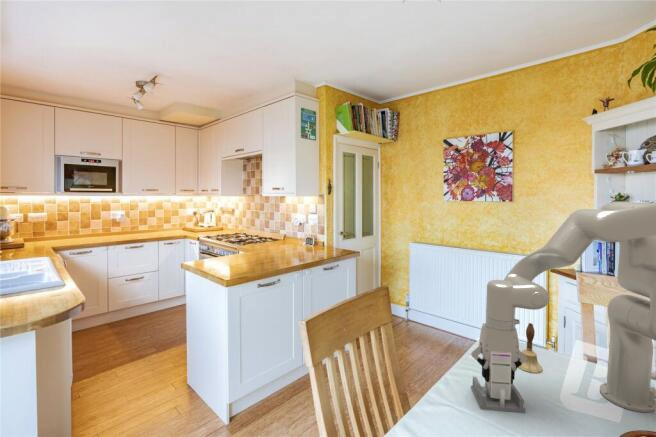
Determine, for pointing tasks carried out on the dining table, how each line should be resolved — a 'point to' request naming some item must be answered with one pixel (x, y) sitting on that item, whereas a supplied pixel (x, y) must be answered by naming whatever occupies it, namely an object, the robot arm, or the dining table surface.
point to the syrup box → (499, 374)
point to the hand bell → (530, 353)
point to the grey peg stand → (497, 404)
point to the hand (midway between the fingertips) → (497, 379)
